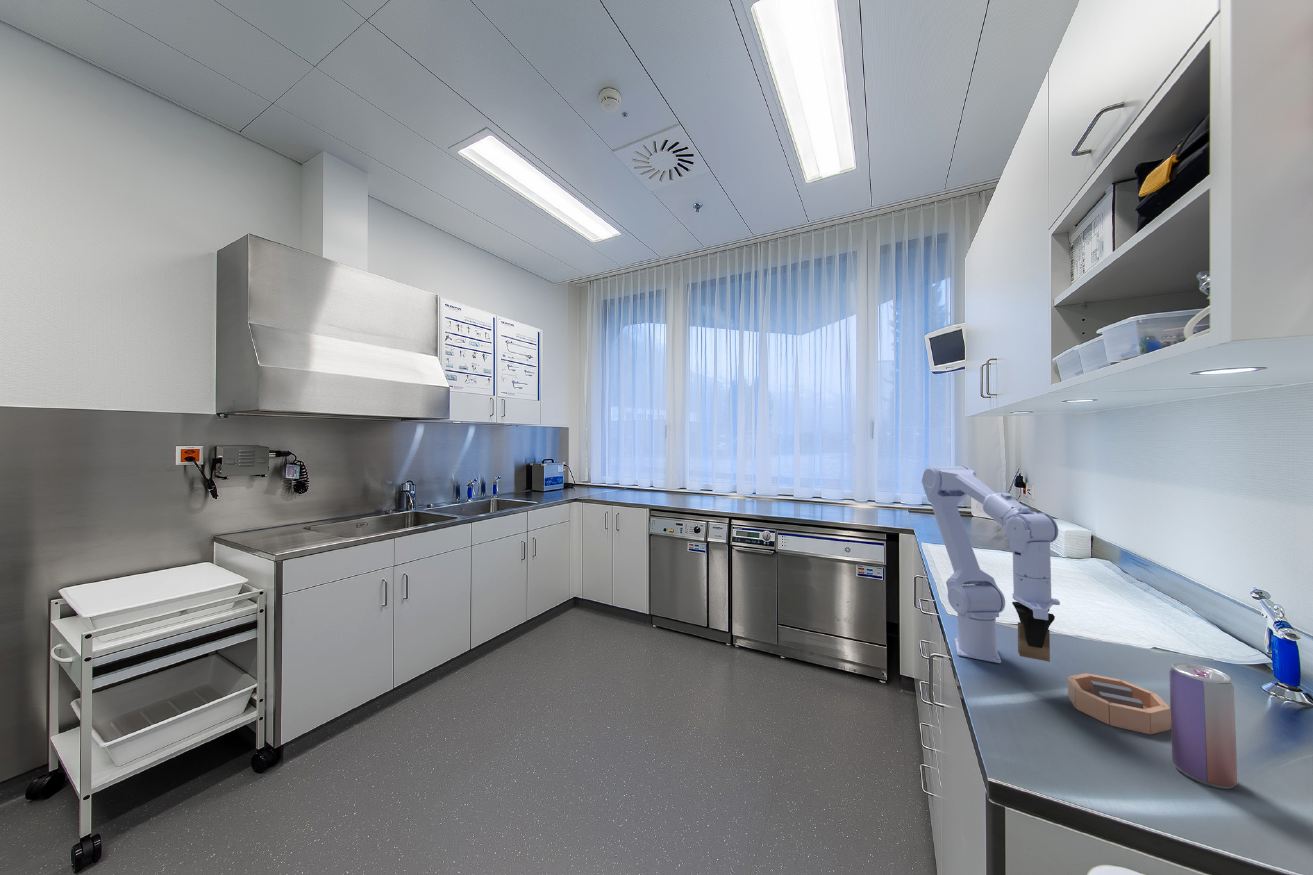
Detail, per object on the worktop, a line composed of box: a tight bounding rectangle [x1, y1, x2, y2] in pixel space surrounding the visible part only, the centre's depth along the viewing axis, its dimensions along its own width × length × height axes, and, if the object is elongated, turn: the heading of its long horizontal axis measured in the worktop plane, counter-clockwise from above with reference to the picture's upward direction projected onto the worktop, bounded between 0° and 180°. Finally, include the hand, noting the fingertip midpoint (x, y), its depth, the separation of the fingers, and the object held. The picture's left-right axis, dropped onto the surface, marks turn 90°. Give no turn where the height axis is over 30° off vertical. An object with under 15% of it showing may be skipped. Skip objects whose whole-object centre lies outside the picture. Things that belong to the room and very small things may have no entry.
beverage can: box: [1168, 661, 1238, 790], centre depth 65 cm, size 6×6×15 cm
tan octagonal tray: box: [1066, 672, 1171, 735], centre depth 80 cm, size 12×12×4 cm
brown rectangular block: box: [1017, 621, 1051, 663], centre depth 87 cm, size 2×4×6 cm, turn 59°
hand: (1033, 643), depth 87 cm, fingers closed on brown rectangular block, 2 cm apart
